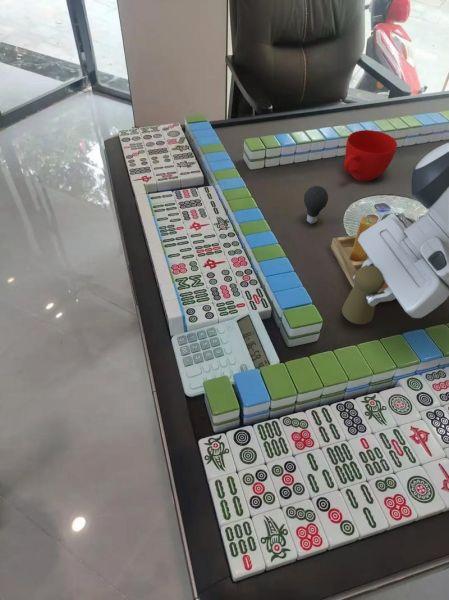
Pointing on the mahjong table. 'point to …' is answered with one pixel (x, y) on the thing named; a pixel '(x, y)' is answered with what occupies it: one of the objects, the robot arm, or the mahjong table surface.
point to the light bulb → (315, 202)
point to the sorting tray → (343, 252)
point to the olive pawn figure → (363, 295)
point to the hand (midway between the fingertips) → (362, 292)
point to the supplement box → (357, 250)
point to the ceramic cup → (368, 154)
